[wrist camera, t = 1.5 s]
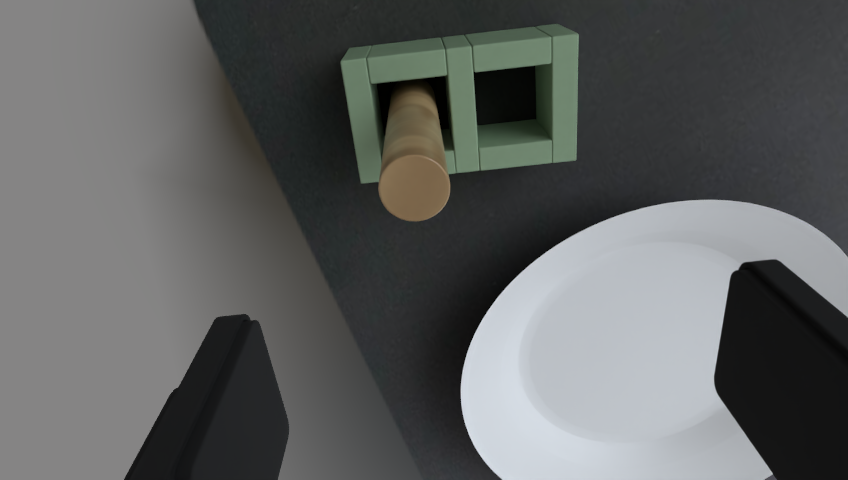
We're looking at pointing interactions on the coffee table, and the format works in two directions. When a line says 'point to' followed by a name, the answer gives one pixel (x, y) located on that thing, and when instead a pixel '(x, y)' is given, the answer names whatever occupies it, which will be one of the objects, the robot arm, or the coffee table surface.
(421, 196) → the stick
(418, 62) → the holder
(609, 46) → the coffee table surface
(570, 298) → the white plate
